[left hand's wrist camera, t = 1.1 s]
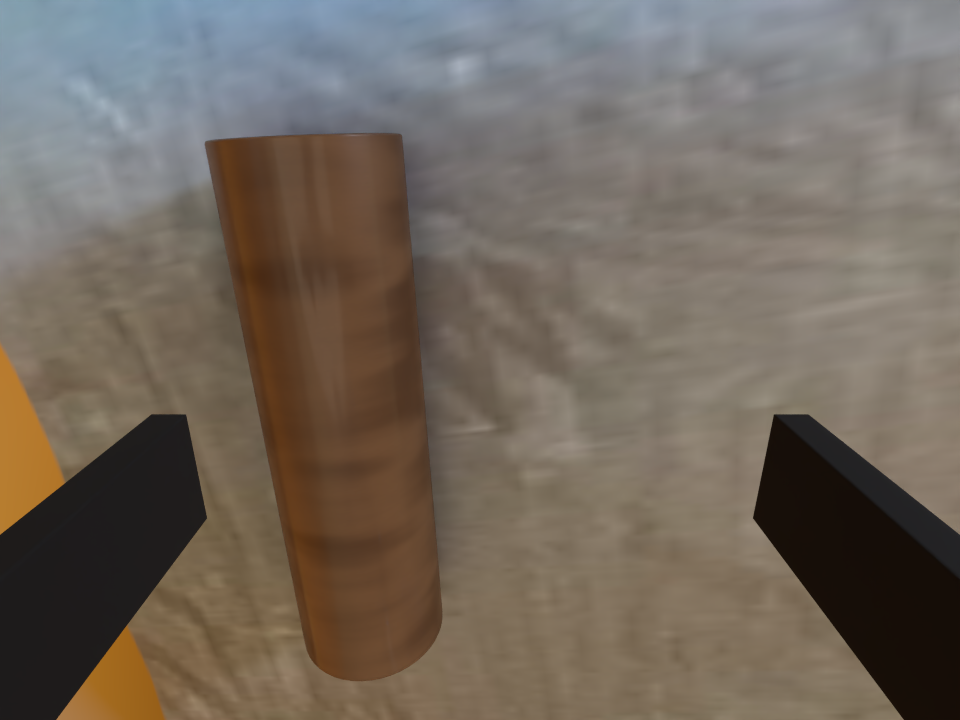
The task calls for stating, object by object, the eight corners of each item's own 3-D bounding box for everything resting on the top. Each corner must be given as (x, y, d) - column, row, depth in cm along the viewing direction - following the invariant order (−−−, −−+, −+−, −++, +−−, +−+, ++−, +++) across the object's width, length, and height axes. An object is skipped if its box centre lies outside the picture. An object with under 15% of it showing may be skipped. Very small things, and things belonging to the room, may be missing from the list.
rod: (250, 143, 26) (163, 140, 19) (411, 136, 26) (385, 130, 19) (325, 575, 35) (285, 684, 28) (446, 571, 35) (437, 679, 28)
